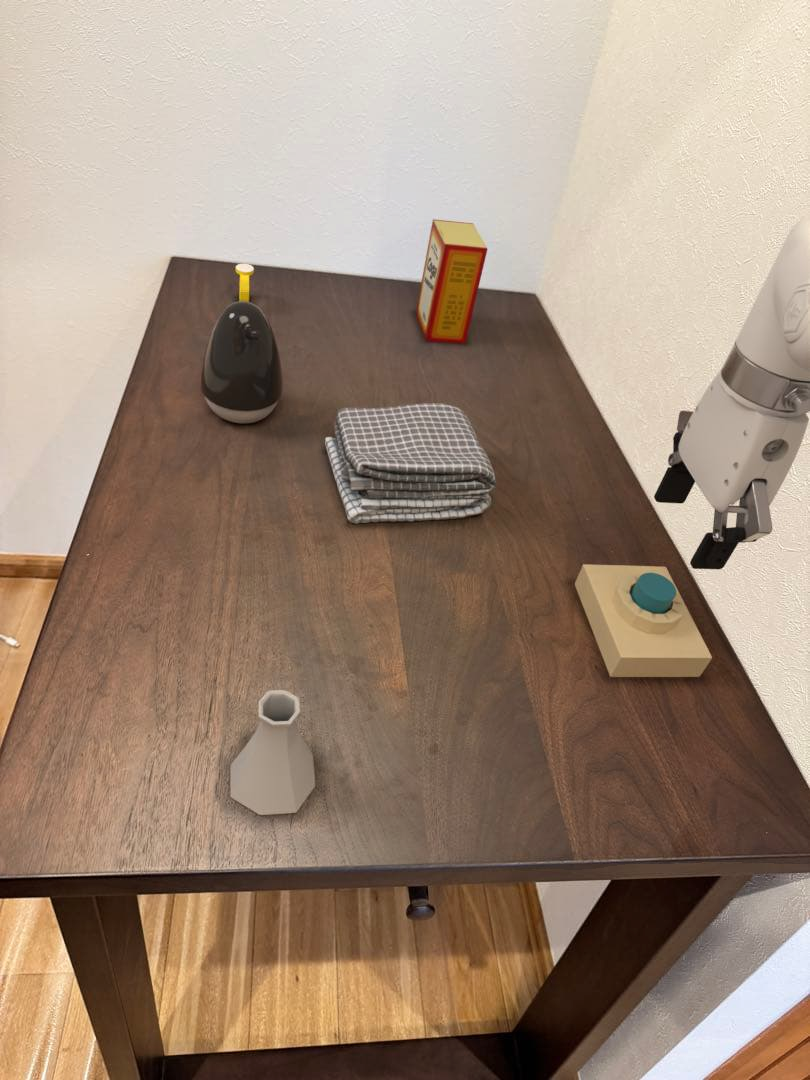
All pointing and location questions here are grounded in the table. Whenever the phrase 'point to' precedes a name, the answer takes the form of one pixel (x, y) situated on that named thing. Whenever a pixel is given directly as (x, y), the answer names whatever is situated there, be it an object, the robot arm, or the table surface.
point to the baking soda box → (450, 281)
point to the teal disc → (653, 593)
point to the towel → (409, 464)
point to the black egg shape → (242, 365)
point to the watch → (244, 280)
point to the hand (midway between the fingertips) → (686, 532)
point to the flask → (274, 760)
